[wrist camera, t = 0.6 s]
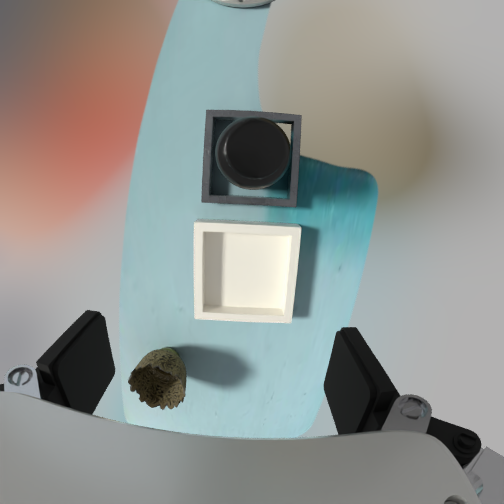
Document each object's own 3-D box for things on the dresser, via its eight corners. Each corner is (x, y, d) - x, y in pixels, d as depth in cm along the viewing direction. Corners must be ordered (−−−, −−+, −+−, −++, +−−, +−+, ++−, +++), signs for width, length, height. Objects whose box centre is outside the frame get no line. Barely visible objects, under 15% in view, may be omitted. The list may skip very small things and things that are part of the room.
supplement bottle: (232, 194, 34) (225, 204, 22) (213, 141, 32) (196, 123, 20) (288, 176, 33) (310, 176, 22) (269, 122, 32) (281, 95, 20)
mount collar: (208, 113, 31) (206, 109, 29) (298, 118, 31) (301, 115, 30) (204, 200, 34) (201, 202, 32) (293, 205, 34) (296, 207, 32)
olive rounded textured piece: (203, 366, 40) (196, 403, 32) (163, 380, 41) (151, 414, 33) (176, 327, 38) (161, 360, 30) (136, 343, 39) (117, 376, 31)
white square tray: (197, 218, 34) (194, 222, 32) (297, 223, 35) (301, 227, 32) (197, 310, 37) (194, 318, 35) (288, 314, 38) (291, 323, 35)
